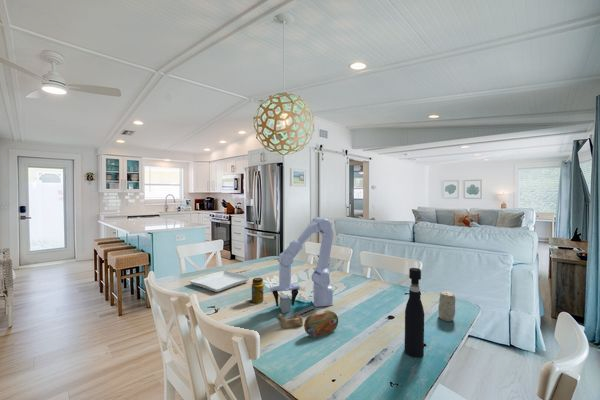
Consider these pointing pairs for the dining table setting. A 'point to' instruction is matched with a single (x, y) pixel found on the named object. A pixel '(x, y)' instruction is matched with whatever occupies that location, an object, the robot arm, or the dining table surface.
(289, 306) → the panel block
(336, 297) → the dining table surface
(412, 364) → the dining table surface
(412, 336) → the wine bottle
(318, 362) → the dining table surface
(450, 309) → the beige upright cylinder
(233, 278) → the square plate
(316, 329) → the tin
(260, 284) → the condiment
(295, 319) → the wooden frame
